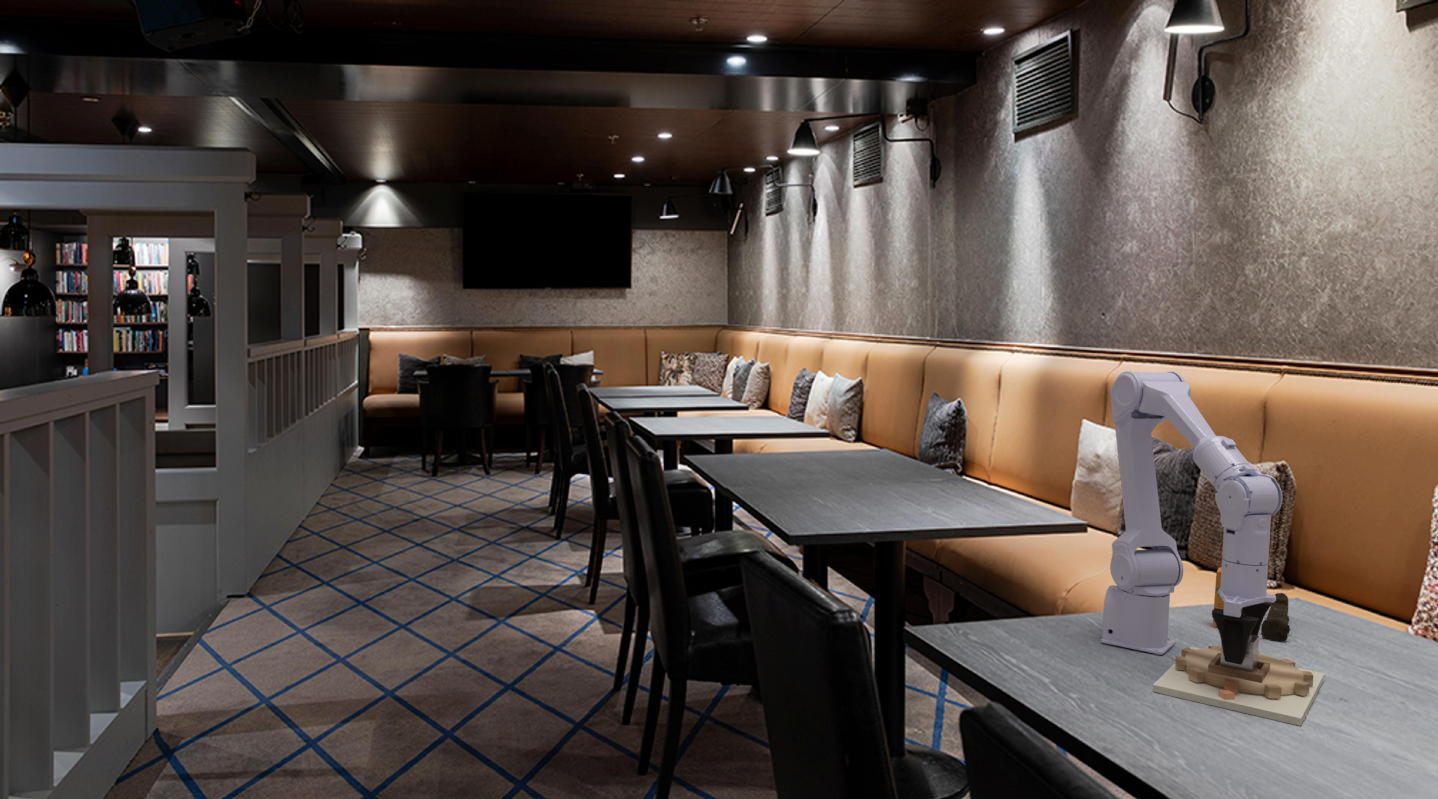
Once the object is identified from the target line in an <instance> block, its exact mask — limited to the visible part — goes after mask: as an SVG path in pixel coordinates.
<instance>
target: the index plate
mask: <svg viewBox="0 0 1438 799" xmlns="http://www.w3.org/2000/svg"><path fill="white" fill-rule="evenodd" d="M1189 648H1191V649H1194V650H1198V649H1202V648H1201V647H1200V648H1199V647H1197V646H1196V647H1194V646H1190V647H1189ZM1180 656H1181V657H1182V655H1180ZM1297 668H1298V669H1299V670H1300V671H1308V672H1311V673H1312V674H1313V686H1310V688H1309V694H1308V695H1305V696H1301V695H1298V694H1295V693H1293V694H1287V695H1281V699H1276V698H1268V697H1266V696H1265V695H1260V694H1251V693H1244V692H1238V693H1237V694H1234V693H1233V692H1231V691H1229V690H1224V688H1221V687H1217V686H1214V685H1211V684H1208V683H1205V682H1199V683H1196V682H1194V681H1192V680H1190V679H1188V676H1189V673H1188V672H1187V671H1186V670H1178V669H1176V667H1175V662H1174V664H1172V665H1171V666H1170V667H1169V668H1168V669H1167V670H1166V671H1165V672H1164V673H1163V674H1162V675H1161V676H1160V677H1159V678H1157V680H1156V681H1155V682H1154V683H1153V684H1152V693H1158V694H1161V695H1166V696H1170V697H1175V698H1177V699H1183V700H1186V701H1192V702H1194V703H1195V702H1196V703H1201V704H1204V705H1209V706H1213V707H1217V708H1221V709H1226V710H1231V711H1234V712H1238V713H1243V714H1247V715H1250V716H1251V715H1252V716H1256V717H1261V718H1265V719H1267V720H1268V719H1269V720H1273V721H1278V722H1281V723H1285V724H1286V723H1287V724H1291V725H1295V726H1299V727H1301V726H1302V725H1303V723H1304V721H1305V719H1306V717H1307V714H1308V713H1309V711H1310V708H1311V707H1312V705H1313V703H1314V701H1315V699H1316V698H1317V695H1318V693H1319V691H1320V689H1321V687H1322V685H1323V683H1324V681H1325V677H1326V676H1325V673H1324V672H1321V671H1320V672H1319V671H1315V670H1312V669H1311V670H1310V669H1304V668H1300V667H1297Z"/></svg>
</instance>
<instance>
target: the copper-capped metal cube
mask: <svg viewBox="0 0 1438 799" xmlns="http://www.w3.org/2000/svg"><path fill="white" fill-rule="evenodd" d="M1259 643H1260V635H1258V636H1256V635H1252V634H1251V635H1250V638H1249V641H1248V646H1247V650H1246V655H1245V658H1244V661H1243V663H1242V665H1240V664H1235V663H1230V662H1226V661H1225V659H1224V654H1223V648H1222V643H1221V646H1220V647H1221V662H1220V666H1222V667H1227V668H1232V669H1237V670H1242V671H1247V672H1251V673H1256V671H1257V663H1258V651H1259Z"/></svg>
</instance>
